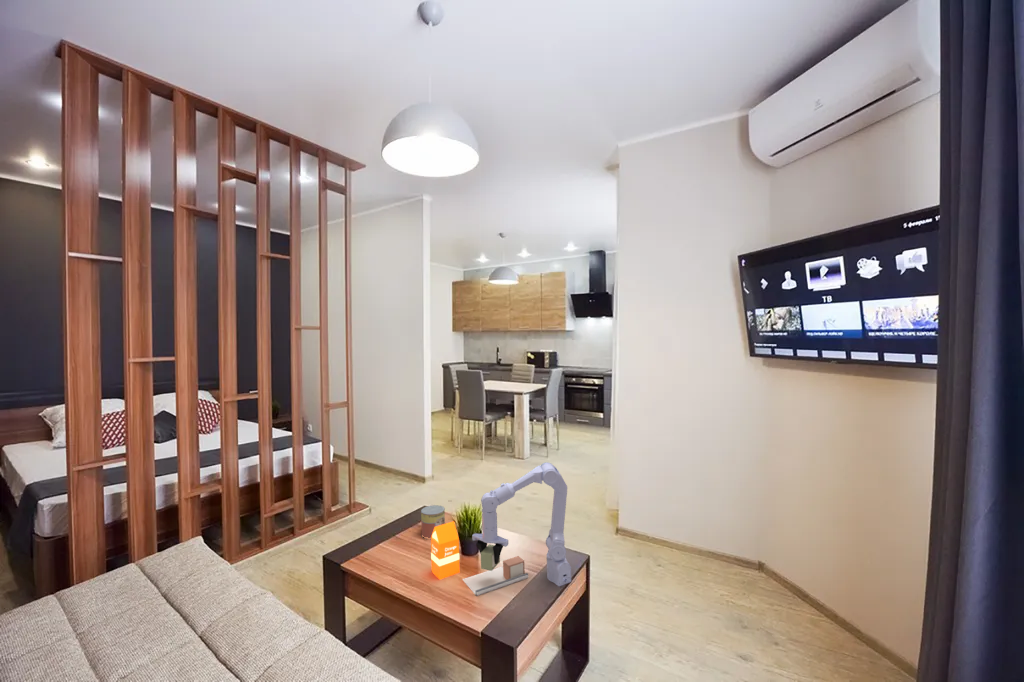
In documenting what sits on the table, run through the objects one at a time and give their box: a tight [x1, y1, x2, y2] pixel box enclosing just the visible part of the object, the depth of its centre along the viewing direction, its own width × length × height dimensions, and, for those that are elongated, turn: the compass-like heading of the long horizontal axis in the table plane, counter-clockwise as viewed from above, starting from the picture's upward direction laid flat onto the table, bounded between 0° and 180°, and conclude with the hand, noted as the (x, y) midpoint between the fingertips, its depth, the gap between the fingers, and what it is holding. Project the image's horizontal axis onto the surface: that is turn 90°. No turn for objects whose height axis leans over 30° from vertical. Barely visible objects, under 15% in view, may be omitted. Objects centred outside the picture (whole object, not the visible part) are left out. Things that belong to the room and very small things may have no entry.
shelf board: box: [462, 565, 529, 597], centre depth 165 cm, size 13×22×2 cm, turn 120°
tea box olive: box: [480, 543, 501, 571], centre depth 162 cm, size 5×7×6 cm
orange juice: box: [430, 520, 461, 580], centre depth 170 cm, size 8×9×20 cm
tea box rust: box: [502, 555, 526, 580], centre depth 166 cm, size 5×7×6 cm
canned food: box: [420, 504, 446, 538], centre depth 207 cm, size 11×11×12 cm
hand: (490, 561), depth 162 cm, fingers closed on tea box olive, 5 cm apart
